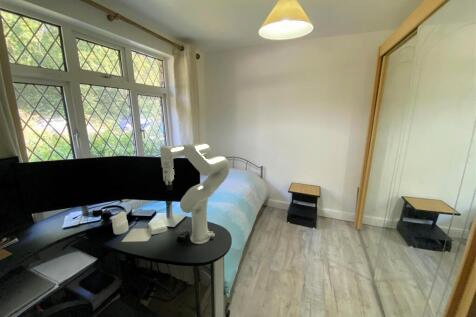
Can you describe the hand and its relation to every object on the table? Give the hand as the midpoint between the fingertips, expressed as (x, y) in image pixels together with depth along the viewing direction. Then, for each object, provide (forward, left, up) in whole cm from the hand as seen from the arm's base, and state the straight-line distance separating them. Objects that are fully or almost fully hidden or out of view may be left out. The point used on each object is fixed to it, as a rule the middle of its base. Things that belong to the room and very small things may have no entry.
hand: (169, 189), depth 136 cm
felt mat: (+19, +11, -27) cm, 35 cm away
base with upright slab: (+34, +5, -27) cm, 44 cm away
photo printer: (+6, +10, -25) cm, 27 cm away
